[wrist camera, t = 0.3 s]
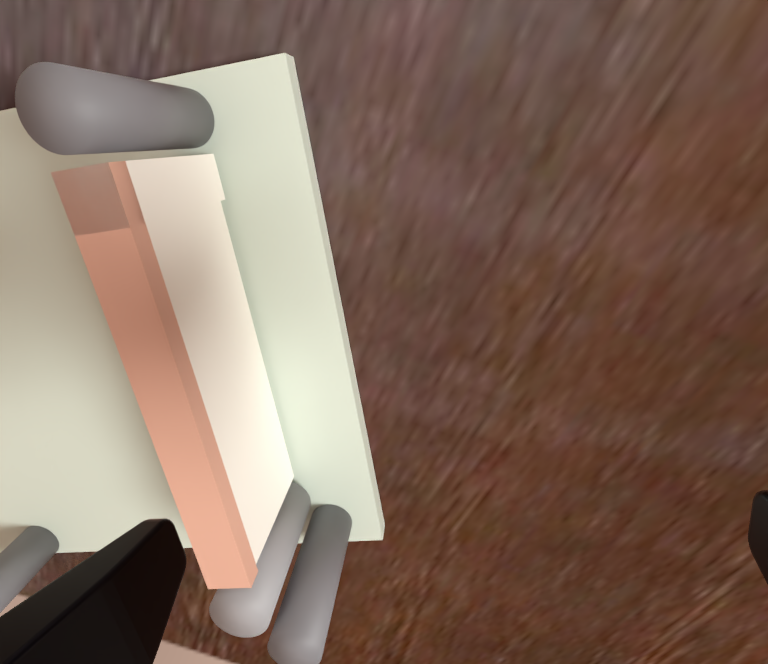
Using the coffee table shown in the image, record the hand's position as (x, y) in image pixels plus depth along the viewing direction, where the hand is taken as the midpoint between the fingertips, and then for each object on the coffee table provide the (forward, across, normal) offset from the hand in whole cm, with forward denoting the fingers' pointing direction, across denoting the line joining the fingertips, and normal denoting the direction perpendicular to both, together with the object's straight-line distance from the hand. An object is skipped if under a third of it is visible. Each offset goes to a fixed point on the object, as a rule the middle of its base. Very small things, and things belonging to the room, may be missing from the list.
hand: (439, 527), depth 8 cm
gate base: (+13, +15, +2) cm, 20 cm away
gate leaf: (+12, +8, +2) cm, 14 cm away
